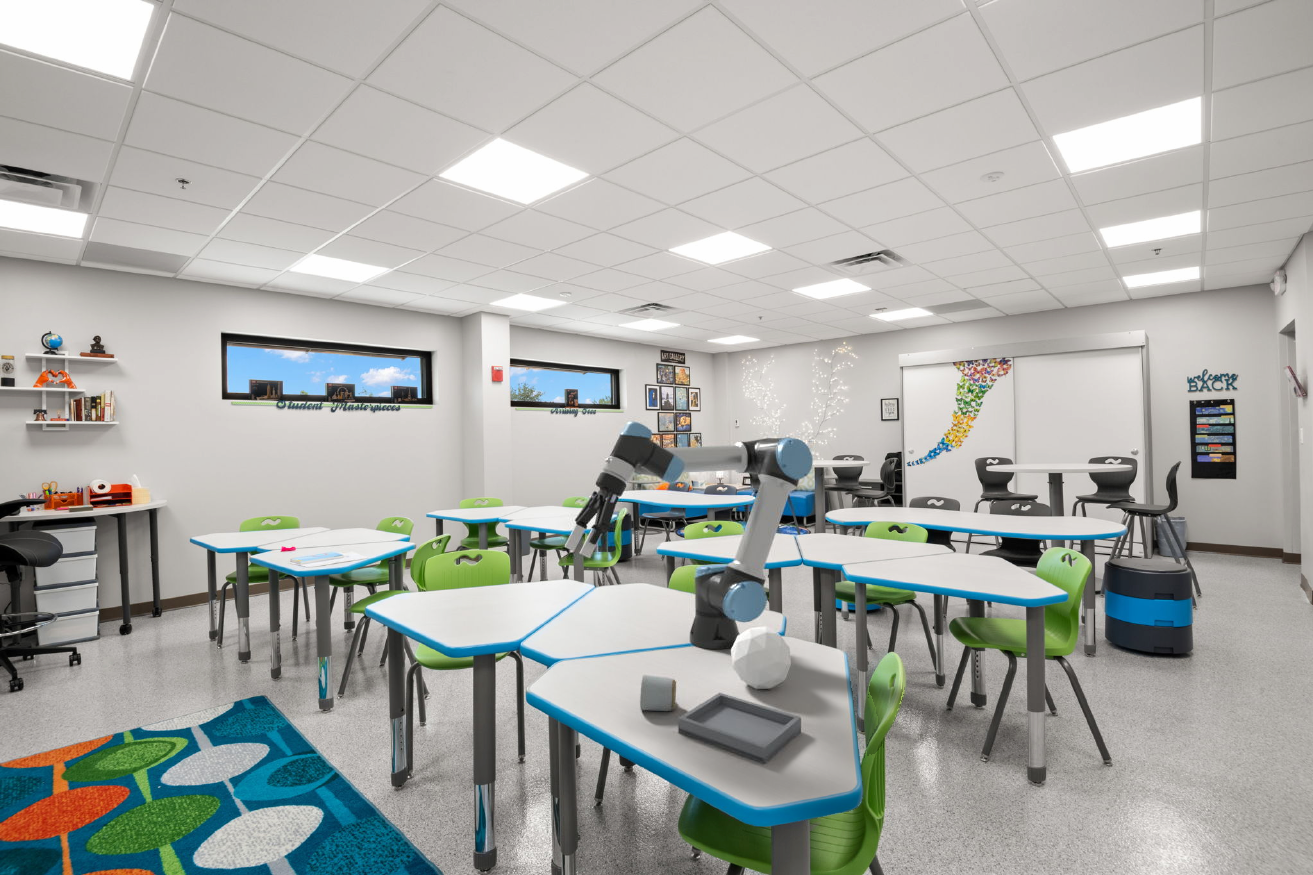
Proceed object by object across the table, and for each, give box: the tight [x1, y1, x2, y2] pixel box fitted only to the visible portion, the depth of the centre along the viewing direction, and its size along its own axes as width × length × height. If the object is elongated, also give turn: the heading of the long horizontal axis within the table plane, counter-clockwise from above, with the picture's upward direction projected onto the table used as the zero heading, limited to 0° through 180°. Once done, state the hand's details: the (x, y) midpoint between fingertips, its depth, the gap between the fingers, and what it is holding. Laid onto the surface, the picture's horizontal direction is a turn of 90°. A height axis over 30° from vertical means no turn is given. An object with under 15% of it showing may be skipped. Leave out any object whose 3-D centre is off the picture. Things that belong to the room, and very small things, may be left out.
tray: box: [677, 692, 802, 765], centre depth 125 cm, size 16×20×3 cm
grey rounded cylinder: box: [639, 674, 677, 712], centre depth 138 cm, size 10×8×7 cm
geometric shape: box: [730, 626, 792, 690], centre depth 149 cm, size 14×15×15 cm
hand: (576, 552), depth 151 cm, fingers open, 13 cm apart
